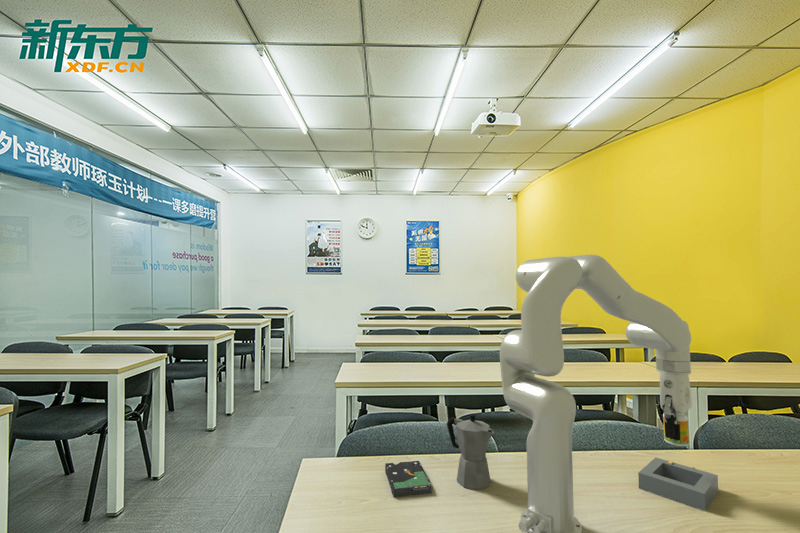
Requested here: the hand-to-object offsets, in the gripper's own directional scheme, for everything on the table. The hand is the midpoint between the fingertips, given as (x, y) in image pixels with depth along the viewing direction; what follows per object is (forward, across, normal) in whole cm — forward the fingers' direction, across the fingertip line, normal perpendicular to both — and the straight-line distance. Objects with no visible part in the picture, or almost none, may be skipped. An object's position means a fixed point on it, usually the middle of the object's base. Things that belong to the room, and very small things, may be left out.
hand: (676, 434), depth 102 cm
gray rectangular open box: (+14, +4, 0) cm, 15 cm away
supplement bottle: (+2, 0, 0) cm, 2 cm away
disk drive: (+14, -51, +50) cm, 73 cm away
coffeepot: (+14, -37, +39) cm, 56 cm away
